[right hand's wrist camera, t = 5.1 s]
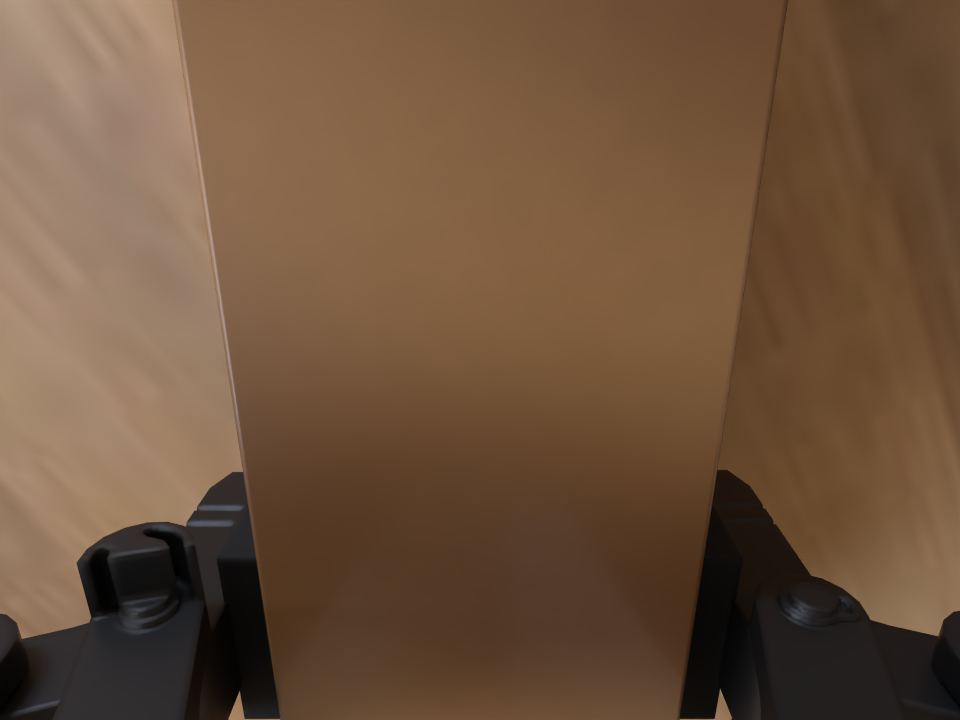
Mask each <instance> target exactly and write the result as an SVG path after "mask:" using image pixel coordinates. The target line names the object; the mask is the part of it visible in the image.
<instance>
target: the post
mask: <svg viewBox="0 0 960 720" xmlns="http://www.w3.org/2000/svg"><path fill="white" fill-rule="evenodd" d="M787 3H788V0H172V4H173V10H174V17H175V24H176V30H177V37H178V44H179V50H180V57H181V63H182V70H183V77H184V83H185V90H186V96H187V103H188V110H189V116H190V123H191V130H192V136H193V143H194V149H195V156H196V163H197V169H198V176H199V183H200V189H201V196H202V202H203V209H204V216H205V222H206V229H207V236H208V242H209V249H210V255H211V262H212V269H213V275H214V282H215V289H216V295H217V302H218V308H219V315H220V322H221V328H222V335H223V342H224V348H225V355H226V361H227V368H228V375H229V381H230V388H231V395H232V401H233V408H234V414H235V421H236V428H237V434H238V441H239V448H240V454H241V461H242V467H243V474H244V481H245V487H246V494H247V501H248V507H249V514H250V520H251V527H252V534H253V540H254V547H255V554H256V560H257V567H258V573H259V580H260V587H261V593H262V600H263V607H264V613H265V620H266V626H267V633H268V640H269V646H270V653H271V660H272V666H273V673H274V679H275V686H276V693H277V699H278V706H279V713H280V719H281V720H679V719H680V713H681V706H682V699H683V693H684V686H685V679H686V673H687V666H688V660H689V653H690V646H691V640H692V633H693V626H694V620H695V613H696V606H697V600H698V593H699V587H700V580H701V573H702V567H703V560H704V553H705V547H706V540H707V534H708V527H709V520H710V514H711V507H712V500H713V494H714V487H715V481H716V474H717V467H718V461H719V454H720V447H721V441H722V434H723V428H724V421H725V414H726V408H727V401H728V394H729V388H730V381H731V375H732V368H733V361H734V355H735V348H736V341H737V335H738V328H739V321H740V315H741V308H742V302H743V295H744V288H745V282H746V275H747V268H748V262H749V255H750V249H751V242H752V235H753V229H754V222H755V215H756V209H757V202H758V196H759V189H760V182H761V176H762V169H763V162H764V156H765V149H766V143H767V136H768V129H769V123H770V116H771V109H772V103H773V96H774V90H775V83H776V76H777V70H778V63H779V56H780V50H781V43H782V36H783V30H784V23H785V17H786V10H787Z"/></svg>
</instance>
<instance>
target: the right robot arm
mask: <svg viewBox="0 0 960 720" xmlns="http://www.w3.org/2000/svg"><path fill="white" fill-rule="evenodd" d="M77 566H78V570H79V574H80V577H81V581H82V585H83V588H84V592H85V596H86V599H87V603H88V607H89V610H90V614H91V620H90V622H89V623H87V624H83V625H80V626H77V627H73V628H69V629H65V630H60V631H56V632H52V633H47V634H43V635H38V636H34V637H29V638H25V639H22V638H21V635H20V632H19V629H18V626H17V623H16V622H15V621H14V620H12V619H11V618H10V617H9V616H7V615H5V614H0V720H228V718H229V716H230V713H231V711H232V708H233V706H234V703H235V701H236V698H237V696H238V693H239V691H240V694H241V700H242V706H243V711H244V717H245V719H280V713H279V706H278V699H277V693H276V686H275V679H274V673H273V666H272V660H271V653H270V646H269V640H268V633H267V626H266V620H265V613H264V607H263V600H262V593H261V587H260V580H259V573H258V567H257V560H256V554H255V547H254V540H253V534H252V527H251V520H250V514H249V507H248V501H247V494H246V487H245V481H244V474H243V472H232V473H231V474H229V475H228V476H227V477H225V478H224V479H222V480H221V481H220V482H218V483H217V484H215V485H214V486H212V487H211V488H210V489H209V490H208V492H207V493H206V495H205V496H204V498H203V499H202V501H201V502H200V504H199V505H198V507H197V511H194V512H193V514H192V515H191V517H190V518H189V520H188V521H187V525H186V527H184V526H182V525H178V524H174V523H170V522H151V523H143V524H139V525H135V526H131V527H127V528H124V529H121V530H119V531H117V532H115V533H112V534H110V535H108V536H105V537H103V538H102V539H101V540H99V541H98V542H96V543H95V544H94V545H92V546H91V547H89V548H88V549H87V550H86V551H85V552H84V554H83V555H82V556H81V558H80V559H79V560H78V562H77ZM720 689H721V691H722V694H723V696H724V699H725V701H726V704H727V706H728V709H729V711H730V714H731V716H732V720H960V611H956V612H953V613H952V614H951V615H949V616H948V617H947V618H946V619H944V621H943V624H942V627H941V630H940V633H939V636H934V635H930V634H925V633H921V632H916V631H912V630H907V629H903V628H898V627H894V626H889V625H886V624H882V623H879V622H875V621H872V620H870V618H869V616H868V615H867V613H866V612H865V610H864V609H863V607H862V606H861V604H860V602H859V601H857V600H856V599H855V598H854V597H852V596H851V595H850V594H849V593H847V592H846V591H845V590H844V589H842V588H840V587H838V586H836V585H834V584H832V583H830V582H828V581H826V580H824V579H821V578H818V577H814V576H811V575H810V573H809V572H808V571H807V569H806V568H805V566H804V565H803V563H802V562H801V560H800V559H799V557H798V556H797V554H796V553H795V551H794V550H793V549H792V547H791V546H790V544H789V543H788V541H787V540H786V538H785V537H784V535H783V534H782V532H781V531H780V530H779V528H778V527H777V525H776V524H773V519H772V518H771V516H770V515H769V513H768V512H767V511H766V509H763V505H762V503H761V502H760V500H759V499H758V497H757V496H756V494H755V493H754V491H753V490H752V489H751V487H750V486H749V485H747V484H746V483H745V482H743V481H742V480H740V479H739V478H738V477H736V476H735V475H733V474H732V473H730V472H729V471H728V470H717V474H716V481H715V487H714V494H713V500H712V507H711V514H710V520H709V527H708V534H707V540H706V547H705V553H704V560H703V567H702V573H701V580H700V587H699V593H698V600H697V606H696V613H695V620H694V626H693V633H692V640H691V646H690V653H689V660H688V666H687V673H686V679H685V686H684V693H683V699H682V706H681V713H680V719H715V714H716V708H717V703H718V697H719V691H720Z"/></svg>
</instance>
